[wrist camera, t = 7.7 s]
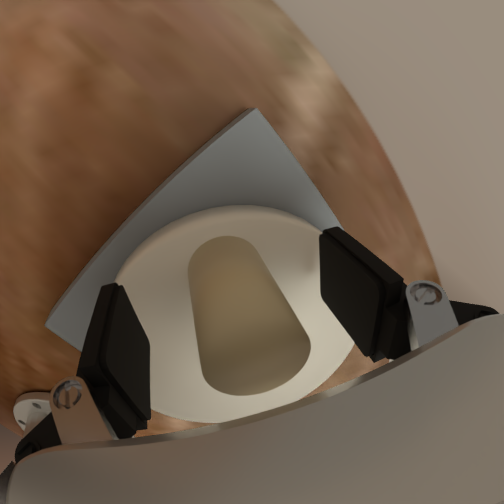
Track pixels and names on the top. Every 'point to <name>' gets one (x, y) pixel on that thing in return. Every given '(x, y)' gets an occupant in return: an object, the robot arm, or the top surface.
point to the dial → (233, 313)
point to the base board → (198, 207)
